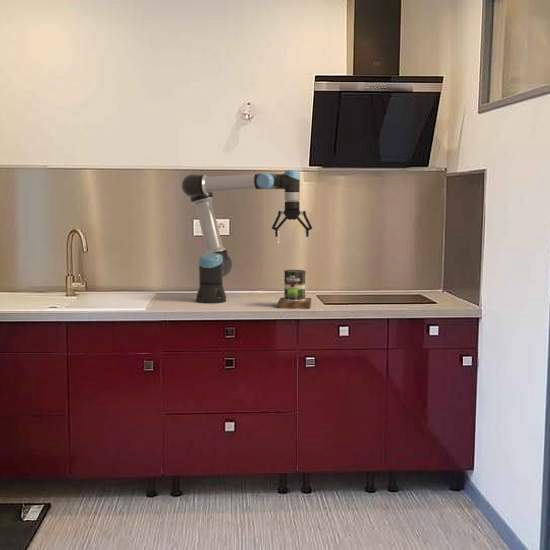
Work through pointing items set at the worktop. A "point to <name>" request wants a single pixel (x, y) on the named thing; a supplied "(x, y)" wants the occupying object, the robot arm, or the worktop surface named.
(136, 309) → the worktop surface
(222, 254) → the robot arm
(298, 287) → the coffee can
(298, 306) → the walnut board
